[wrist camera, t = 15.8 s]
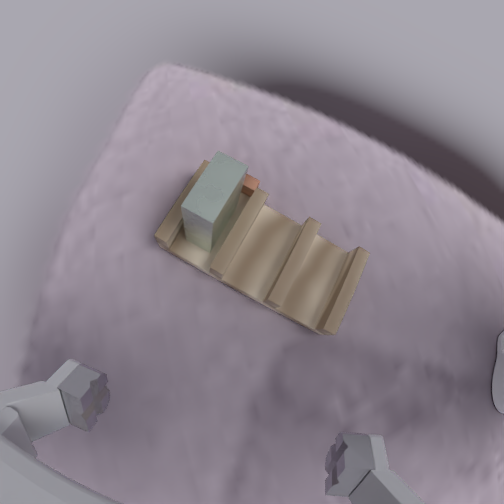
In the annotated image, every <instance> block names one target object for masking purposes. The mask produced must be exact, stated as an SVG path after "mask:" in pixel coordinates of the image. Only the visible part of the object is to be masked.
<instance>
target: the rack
mask: <svg viewBox="0 0 504 504" xmlns="http://www.w3.org/2000/svg"><path fill="white" fill-rule="evenodd" d="M209 163H210V162H208V161H206V160H204V161H203V163H202V164H201V166H200V167H199V169H198V170H197V171H196V173H195V174H194V176H193V177H192V179H191V180H190V182H189V183H188V184H187V186H186V187H185V189H184V190H183V192H182V193H181V195H180V196H179V198H178V199H177V201H176V202H175V204H174V205H173V207H172V208H171V210H170V211H169V213H168V214H167V216H166V218H165V219H164V221H163V222H162V224H161V225H160V227H159V228H158V230H157V232H156V233H155V235H154V236H155V238H156V240H157V242H158V244H159V246H160V247H161V248H163V249H164V250H166V251H168V252H170V253H171V254H173V255H175V256H176V257H178V258H180V259H182V260H183V261H185V262H187V263H189V264H190V265H192V266H194V267H196V268H197V269H199V270H201V271H203V272H205V273H206V274H208V275H210V276H212V277H213V278H215V279H217V280H219V281H221V282H222V283H224V284H226V285H228V286H230V287H231V288H233V289H235V290H237V291H239V292H240V293H242V294H244V295H246V296H248V297H250V298H251V299H253V300H255V301H257V302H259V303H261V304H263V305H264V306H266V307H268V308H270V309H272V310H274V311H276V312H277V313H279V314H281V315H283V316H285V317H287V318H289V319H291V320H293V321H294V322H296V323H298V324H300V325H302V326H304V327H306V328H308V329H310V330H312V331H314V332H316V333H318V334H319V335H336V332H337V330H338V328H339V326H340V324H341V321H342V319H343V317H344V315H345V312H346V310H347V308H348V306H349V303H350V301H351V299H352V296H353V294H354V291H355V289H356V287H357V284H358V282H359V279H360V277H361V274H362V272H363V269H364V267H365V264H366V262H367V259H368V257H369V254H370V253H369V252H368V251H366V250H364V249H363V248H361V247H357V248H356V249H354V250H352V251H350V252H349V253H348V252H346V251H344V250H343V249H341V248H339V247H338V246H336V245H334V244H332V243H331V242H329V241H327V240H326V239H324V238H322V237H321V236H319V235H317V232H318V230H319V228H320V226H321V223H319V222H317V221H316V220H314V219H312V218H311V217H309V218H308V219H307V220H306V221H305V222H304V223H303V225H302V226H301V225H300V224H298V223H296V222H294V221H293V220H291V219H289V218H287V217H286V216H284V215H282V214H280V213H278V212H277V211H275V210H273V209H271V208H269V207H268V206H266V205H264V203H265V201H266V199H267V197H268V195H269V194H268V193H266V192H264V191H263V190H261V189H259V188H258V185H259V183H260V181H259V180H257V179H255V178H254V177H252V176H250V175H248V174H246V177H245V180H244V183H243V187H242V190H241V194H240V197H239V201H238V204H237V208H236V210H235V212H234V213H233V215H232V217H231V218H230V220H229V222H228V223H227V225H226V227H225V228H224V230H223V232H222V234H221V235H220V237H219V239H218V240H217V242H216V244H215V246H214V247H213V249H212V251H211V252H210V253H209V252H207V251H205V250H203V249H202V248H200V247H198V246H196V245H195V244H193V243H191V242H189V241H187V240H186V235H185V229H184V223H183V217H182V210H181V205H182V203H183V202H184V200H185V199H186V197H187V196H188V194H189V193H190V191H191V189H192V188H193V186H194V185H195V184H196V182H197V181H198V179H199V178H200V176H201V175H202V173H203V172H204V170H205V169H206V167H207V166H208V164H209Z"/></svg>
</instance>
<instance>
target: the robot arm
mask: <svg viewBox="0 0 504 504" xmlns="http://www.w3.org/2000/svg"><path fill="white" fill-rule="evenodd" d="M107 382H108V379H107V374H105V373H103V372H101V371H98V370H96V369H94V368H92V367H89V366H87V365H85V364H83V363H80V362H78V361H76V360H74V359H69V360H67V361H66V362H65V363H64V364H63V365H62V366H61V367H60V368H59V369H58V370H57V371H56V372H55V373H54V374H53V375H52V376H51V377H50V378H49V379H48V380H47V381H46V382H44V381H39V382H35V383H31V384H28V385H24V386H20V387H16V388H12V389H8V390H3V391H0V504H122V503H120V502H118V501H115V500H113V499H111V498H109V497H106V496H104V495H102V494H100V493H98V492H96V491H94V490H91V489H89V488H87V487H85V486H83V485H82V484H80V483H78V482H76V481H74V480H72V479H70V478H68V477H66V476H65V475H63V474H61V473H59V472H58V471H56V470H54V469H52V468H51V467H49V466H47V465H46V464H44V463H43V462H41V461H39V460H38V459H36V456H37V451H36V450H35V448H34V446H33V444H32V442H33V441H35V440H37V439H40V438H42V437H44V436H46V435H49V434H51V433H53V432H55V431H57V430H60V429H62V428H64V427H66V426H68V425H70V424H72V425H74V426H76V427H78V428H80V429H82V430H85V431H87V432H90V431H91V429H92V428H93V426H94V425H95V424H96V422H97V415H99V414H101V413H103V412H104V411H105V409H106V408H107V406H108V403H109V399H110V393H109V389H108V388H107V387H106V383H107ZM492 395H493V401H494V404H495V407H496V408H497V410H498V411H499V412H500V413H502V414H504V331H503V332H502V333H501V334H500V335H499V337H498V343H497V360H496V364H495V368H494V373H493V381H492ZM69 423H70V424H69ZM335 439H336V444H334V445H332V446H331V447H330V449H329V451H328V454H327V457H326V463H325V470H326V471H327V473H328V474H329V475H328V477H327V478H326V480H325V495H331V496H344V497H348V498H349V500H350V501H351V503H352V504H426V503H425V502H424V501H423V500H422V499H421V498H420V497H419V496H418V495H417V494H416V493H415V492H414V491H413V490H412V489H411V488H410V487H409V486H408V485H407V484H406V483H405V482H404V481H403V480H402V479H401V478H400V477H399V476H398V475H397V474H396V473H395V472H394V471H390V470H389V465H388V459H387V454H386V449H385V444H384V439H383V436H382V435H374V434H361V433H349V432H340V433H339V434H338V435H337V437H336V438H335Z"/></svg>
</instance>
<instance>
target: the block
mask: <svg viewBox="0 0 504 504" xmlns="http://www.w3.org/2000/svg"><path fill="white" fill-rule="evenodd" d="M247 170H248V166H247V165H245V164H243V163H241V162H239V161H237V160H235V159H233V158H232V157H230V156H228V155H226V154H224V153H222V152H220V151H218V152H217V153H216V154H215V156H214V157H213V159H212V160H211V162H210V163H209V164H208V166H207V167H206V169H205V170H204V172H203V173H202V175H201V176H200V178H199V179H198V181H197V182H196V184H195V185H194V186H193V188H192V189H191V191H190V193H189V194H188V196H187V197H186V199H185V200H184V202H183V203H182V205H181V210H182V217H183V223H184V229H185V235H186V240H187V241H189V242H191V243H193V244H195V245H196V246H198V247H200V248H202V249H203V250H205V251H207V252H209V253H210V252H211V251H212V249H213V247H214V246H215V244H216V242H217V240H218V239H219V237H220V235H221V234H222V232H223V230H224V228H225V227H226V225H227V223H228V222H229V220H230V218H231V217H232V215H233V213H234V212H235V210H236V208H237V204H238V201H239V197H240V194H241V190H242V187H243V183H244V180H245V177H246V173H247Z"/></svg>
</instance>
